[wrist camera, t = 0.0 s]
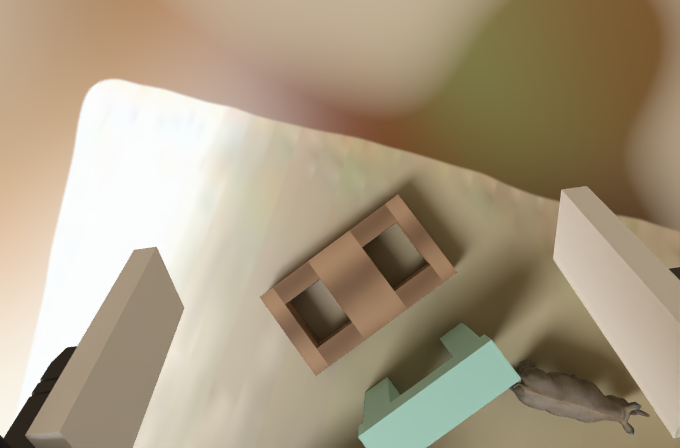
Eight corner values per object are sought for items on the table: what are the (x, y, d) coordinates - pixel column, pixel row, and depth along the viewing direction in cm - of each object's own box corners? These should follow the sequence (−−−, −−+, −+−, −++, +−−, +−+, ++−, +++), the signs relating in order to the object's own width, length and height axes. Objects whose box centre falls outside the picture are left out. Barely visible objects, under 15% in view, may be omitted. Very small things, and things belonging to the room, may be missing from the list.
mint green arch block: (488, 349, 50) (521, 379, 39) (383, 426, 50) (386, 476, 39) (465, 319, 50) (491, 339, 39) (361, 395, 50) (358, 436, 40)
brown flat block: (452, 270, 50) (457, 272, 47) (319, 368, 51) (315, 375, 48) (396, 197, 51) (398, 194, 48) (266, 294, 52) (259, 296, 49)
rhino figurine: (627, 427, 49) (662, 452, 43) (496, 390, 50) (513, 409, 44) (636, 388, 49) (673, 408, 43) (505, 352, 50) (524, 367, 44)
